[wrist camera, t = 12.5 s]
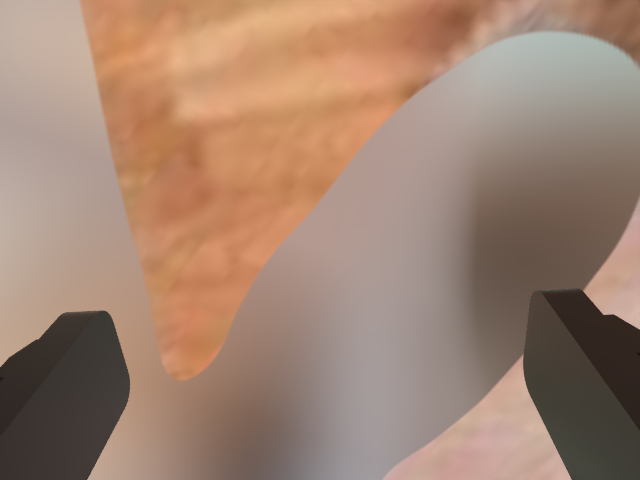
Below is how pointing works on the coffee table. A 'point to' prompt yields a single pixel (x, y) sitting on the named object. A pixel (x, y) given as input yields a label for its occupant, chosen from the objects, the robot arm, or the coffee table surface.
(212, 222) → the coffee table surface
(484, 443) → the coffee table surface
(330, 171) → the coffee table surface
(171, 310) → the coffee table surface
